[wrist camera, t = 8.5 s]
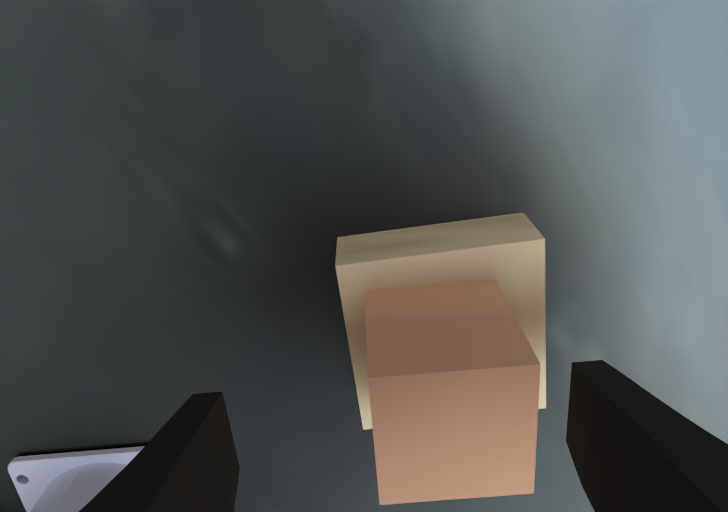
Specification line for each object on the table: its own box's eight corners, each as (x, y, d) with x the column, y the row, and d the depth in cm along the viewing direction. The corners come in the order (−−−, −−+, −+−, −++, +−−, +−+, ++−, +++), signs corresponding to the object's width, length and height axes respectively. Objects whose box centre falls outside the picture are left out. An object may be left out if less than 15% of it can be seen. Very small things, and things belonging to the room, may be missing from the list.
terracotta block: (494, 387, 21) (533, 493, 17) (373, 397, 21) (379, 505, 17) (495, 279, 19) (540, 364, 15) (364, 290, 19) (367, 377, 15)
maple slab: (524, 362, 24) (546, 408, 22) (362, 382, 25) (363, 429, 22) (520, 208, 21) (545, 238, 19) (337, 233, 22) (335, 266, 19)
